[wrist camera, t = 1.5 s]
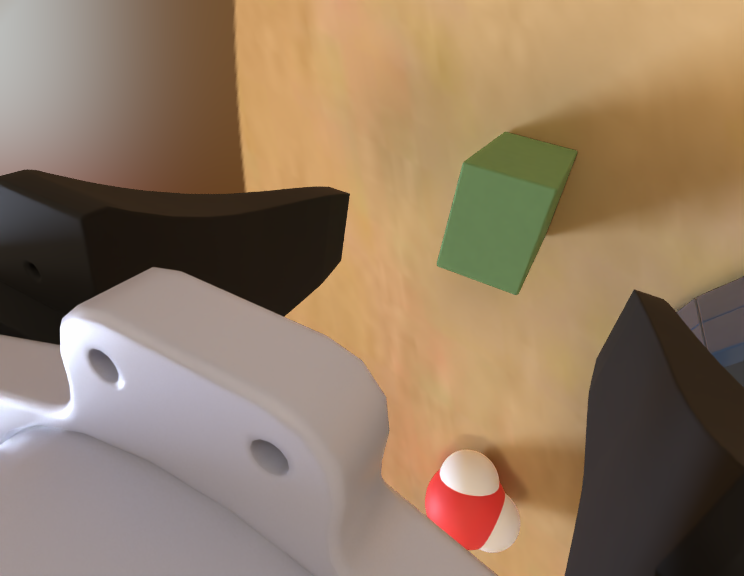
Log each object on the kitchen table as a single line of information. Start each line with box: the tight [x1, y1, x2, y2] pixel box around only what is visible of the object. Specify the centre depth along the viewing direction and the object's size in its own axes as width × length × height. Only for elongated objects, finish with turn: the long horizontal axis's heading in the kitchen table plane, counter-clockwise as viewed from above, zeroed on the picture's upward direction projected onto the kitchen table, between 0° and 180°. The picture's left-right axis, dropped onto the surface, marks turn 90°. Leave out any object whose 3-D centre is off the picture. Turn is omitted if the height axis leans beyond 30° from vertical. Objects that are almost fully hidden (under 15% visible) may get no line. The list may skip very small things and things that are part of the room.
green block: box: [437, 132, 577, 295], centre depth 17 cm, size 4×3×6 cm
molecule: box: [425, 449, 520, 553], centre depth 25 cm, size 5×5×4 cm
